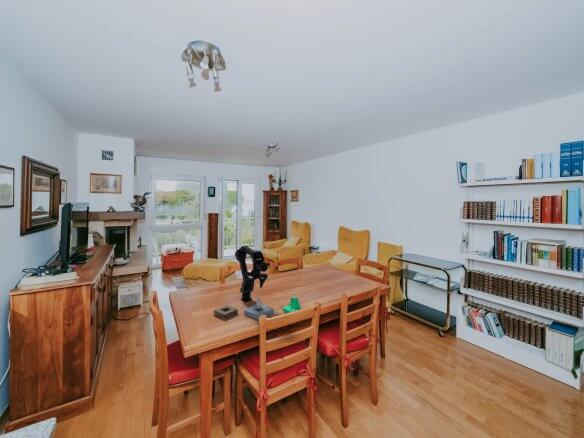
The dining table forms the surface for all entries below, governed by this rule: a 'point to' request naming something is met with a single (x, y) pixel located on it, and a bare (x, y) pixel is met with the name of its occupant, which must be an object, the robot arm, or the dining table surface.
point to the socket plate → (256, 314)
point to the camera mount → (292, 305)
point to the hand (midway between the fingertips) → (256, 289)
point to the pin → (259, 304)
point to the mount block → (225, 311)
